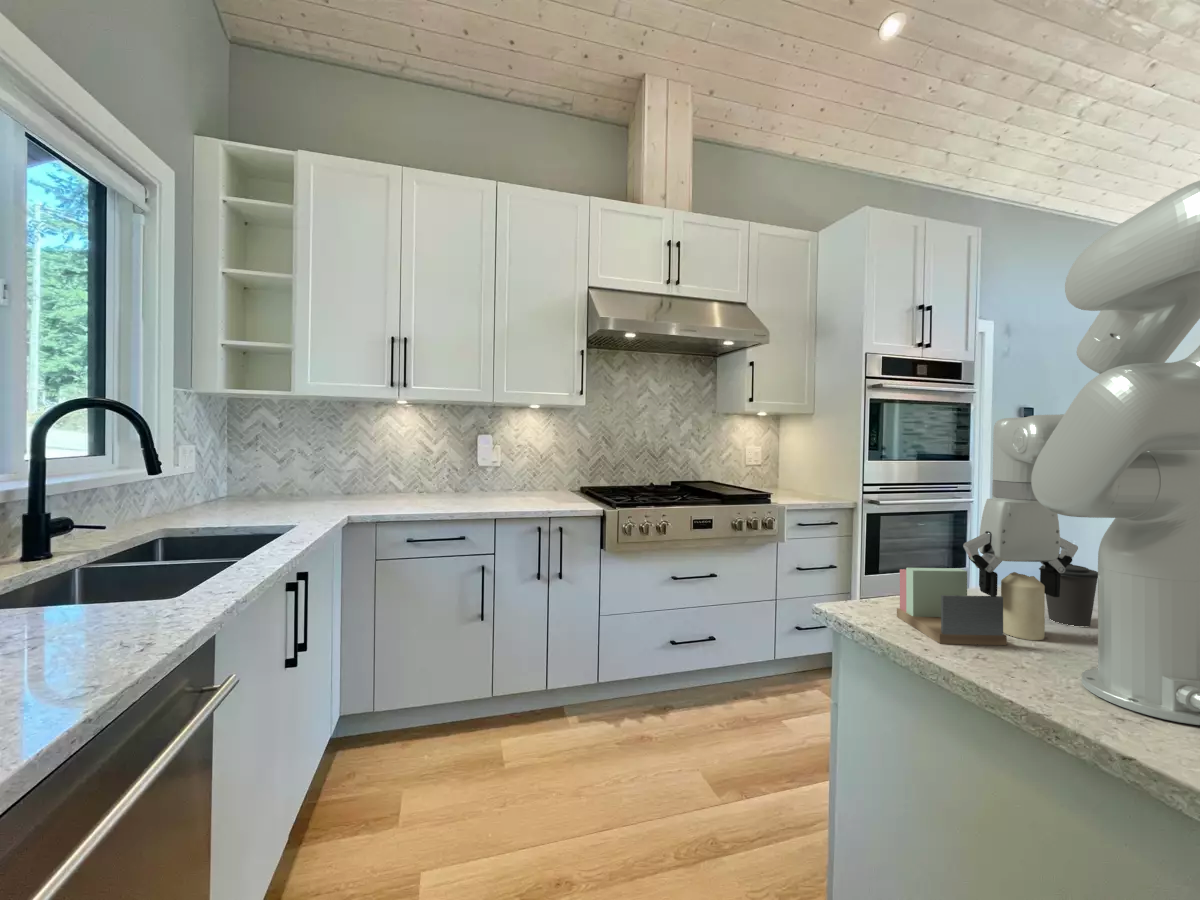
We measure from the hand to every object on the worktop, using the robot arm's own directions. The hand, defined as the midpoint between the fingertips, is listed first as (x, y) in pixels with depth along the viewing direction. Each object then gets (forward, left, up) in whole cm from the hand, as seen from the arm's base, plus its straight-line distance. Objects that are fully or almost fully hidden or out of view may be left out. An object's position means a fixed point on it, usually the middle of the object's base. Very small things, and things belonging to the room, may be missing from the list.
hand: (1018, 594), depth 84 cm
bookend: (-6, +11, -5) cm, 13 cm away
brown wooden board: (+1, +11, -6) cm, 13 cm away
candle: (-1, 0, -7) cm, 7 cm away
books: (+5, +11, -5) cm, 13 cm away
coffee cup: (+6, -13, -7) cm, 16 cm away
